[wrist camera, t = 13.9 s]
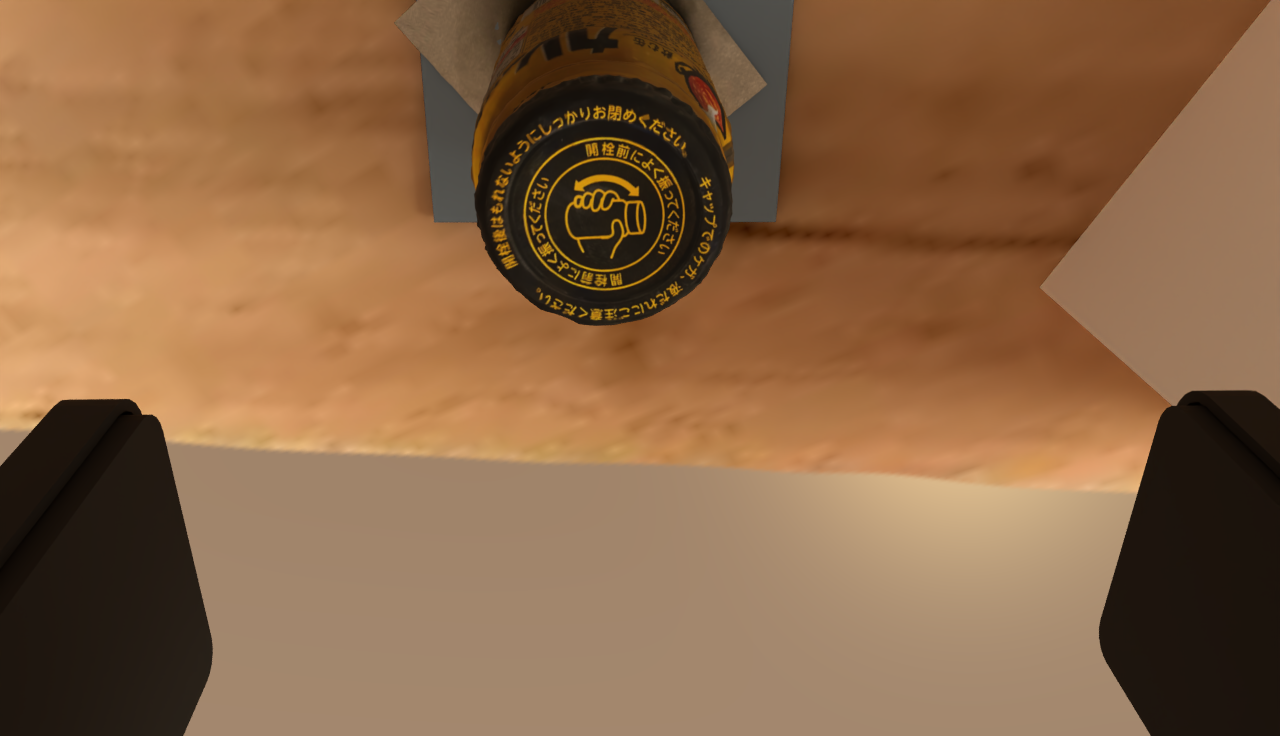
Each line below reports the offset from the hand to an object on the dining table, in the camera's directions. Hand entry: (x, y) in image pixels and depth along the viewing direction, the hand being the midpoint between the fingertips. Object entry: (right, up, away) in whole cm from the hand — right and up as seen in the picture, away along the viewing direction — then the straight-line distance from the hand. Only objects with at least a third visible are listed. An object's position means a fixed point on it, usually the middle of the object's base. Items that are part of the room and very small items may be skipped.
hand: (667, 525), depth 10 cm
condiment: (-2, +11, +21) cm, 24 cm away
